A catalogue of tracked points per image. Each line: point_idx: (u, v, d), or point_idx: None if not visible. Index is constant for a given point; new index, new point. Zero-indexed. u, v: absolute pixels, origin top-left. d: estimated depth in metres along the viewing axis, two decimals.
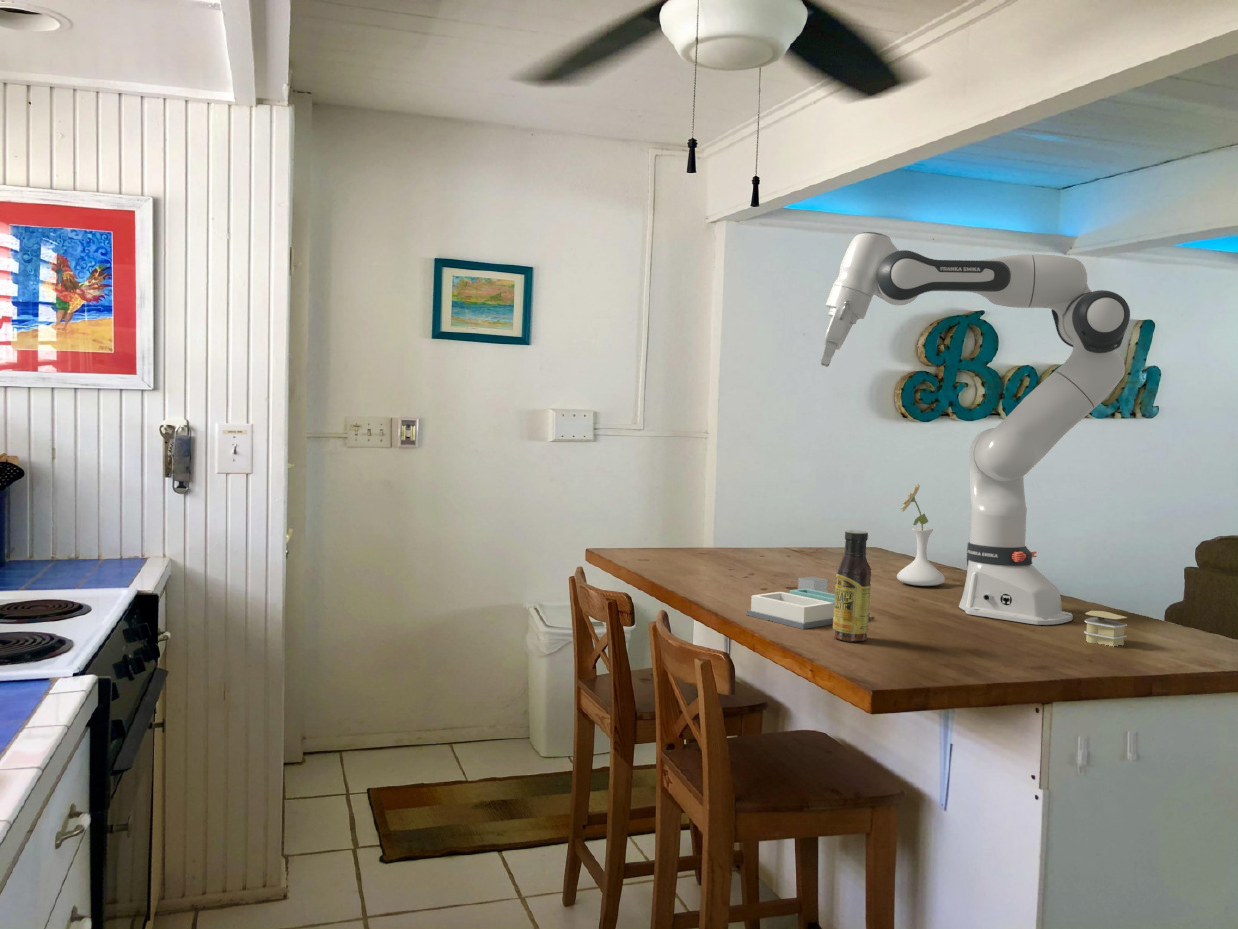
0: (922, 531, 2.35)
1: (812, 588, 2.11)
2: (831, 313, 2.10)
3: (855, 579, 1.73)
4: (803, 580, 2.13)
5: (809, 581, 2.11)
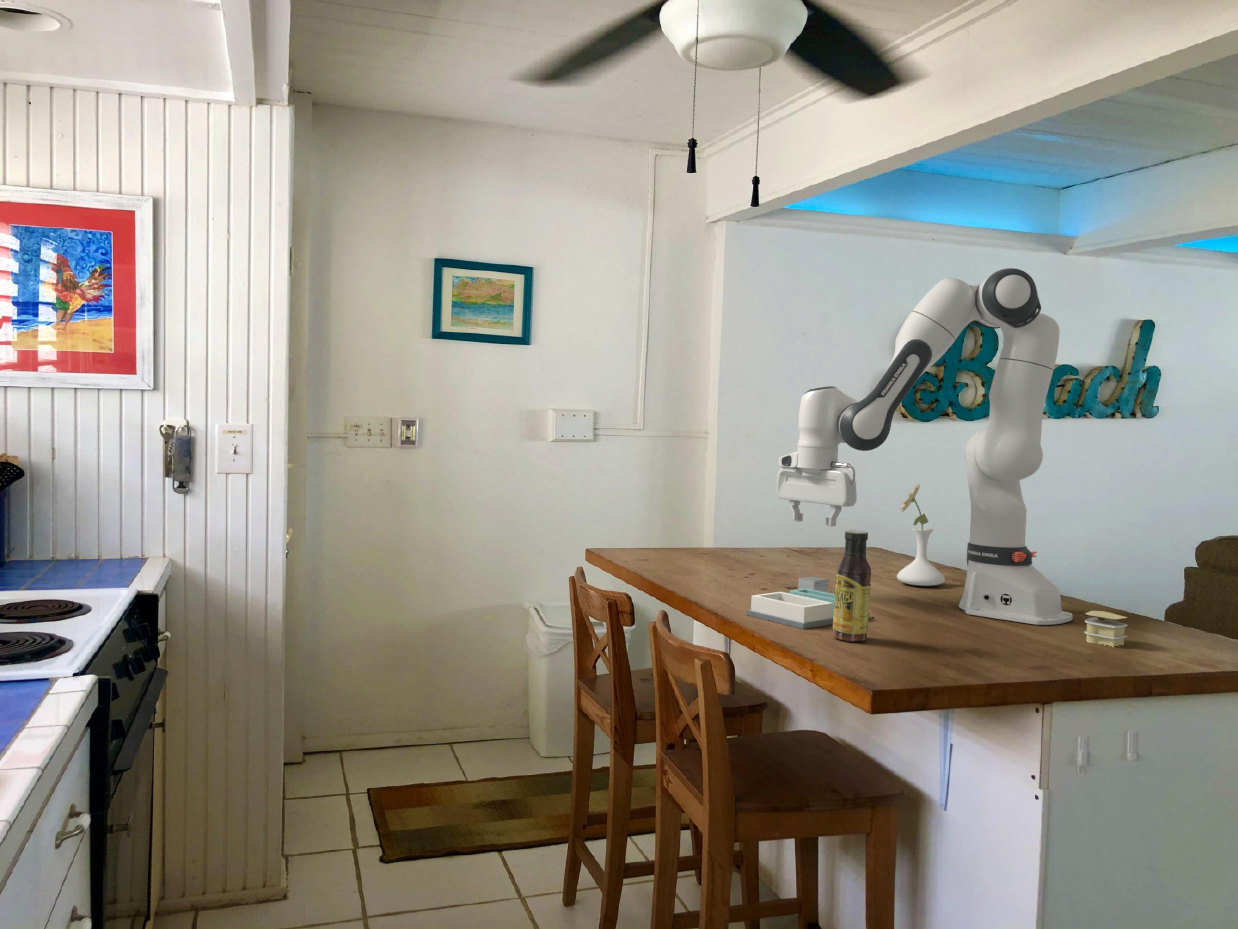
0: (922, 531, 2.35)
1: (812, 588, 2.11)
2: (815, 475, 2.09)
3: (855, 579, 1.73)
4: (803, 580, 2.13)
5: (809, 581, 2.11)
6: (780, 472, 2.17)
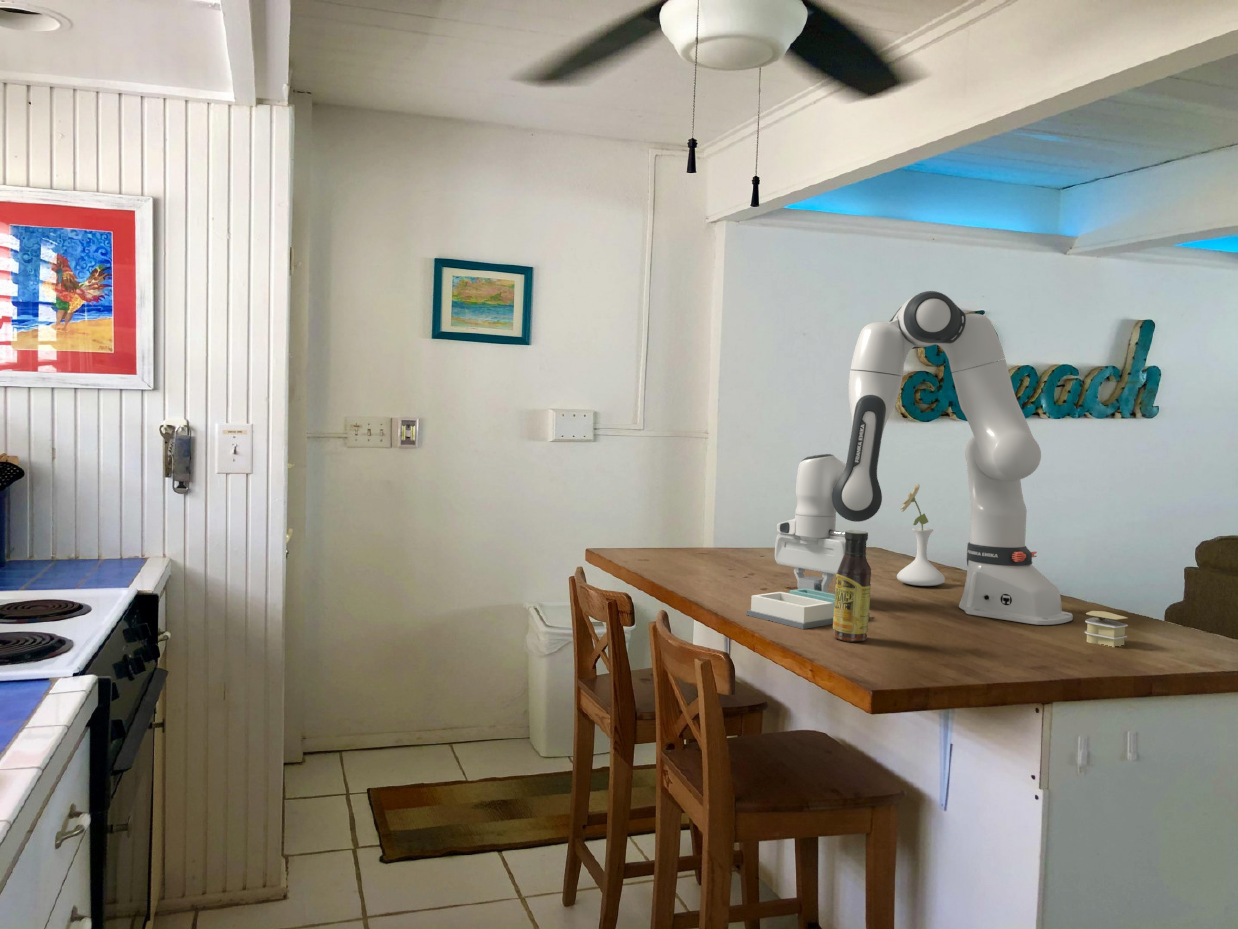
0: (922, 531, 2.35)
1: (812, 588, 2.11)
2: (813, 543, 2.10)
3: (855, 579, 1.73)
4: (803, 580, 2.13)
5: (809, 581, 2.11)
6: (778, 538, 2.18)
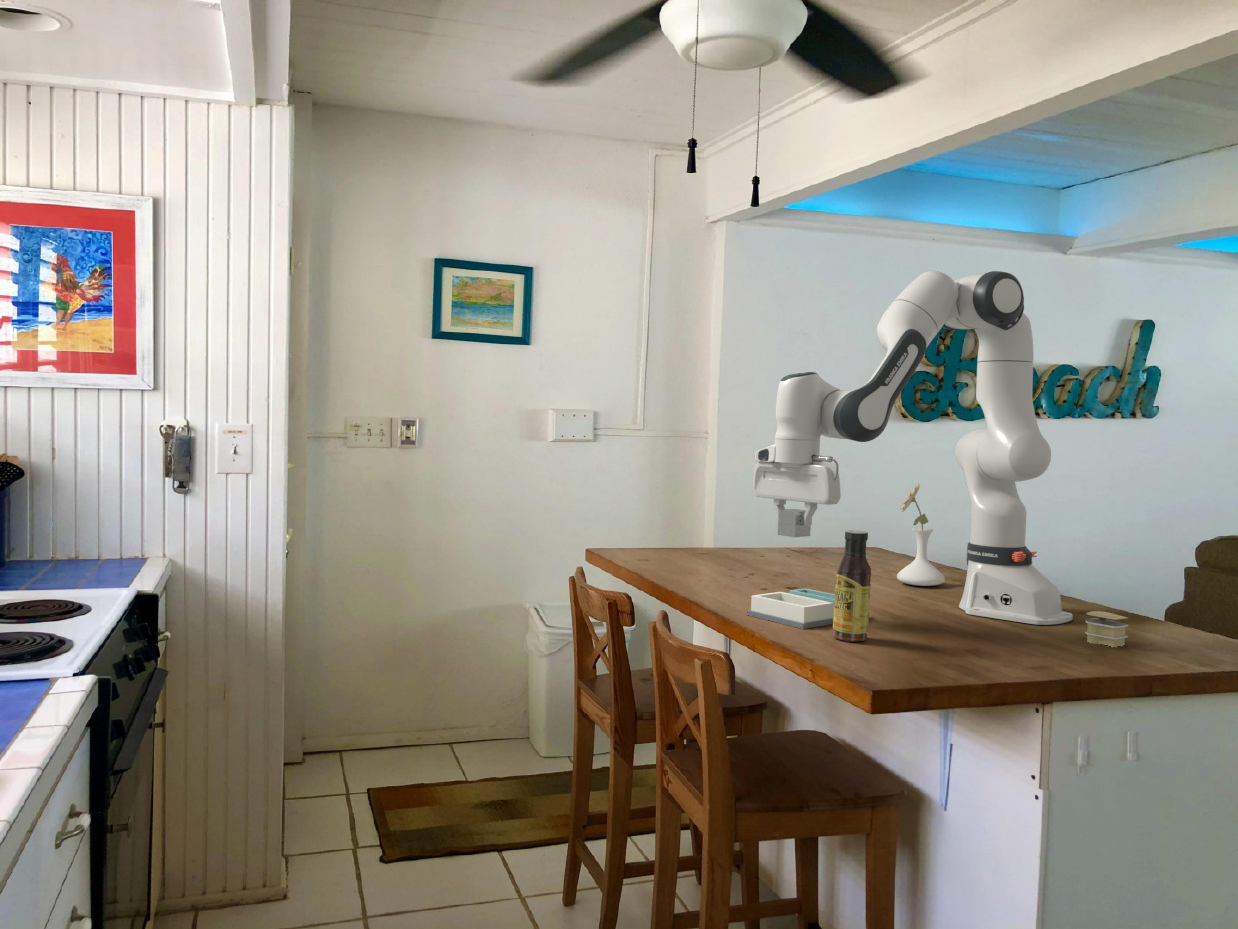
0: (922, 531, 2.35)
1: (793, 520, 1.89)
2: (795, 470, 1.89)
3: (855, 579, 1.73)
4: (784, 512, 1.92)
5: (790, 512, 1.90)
6: (757, 467, 1.97)
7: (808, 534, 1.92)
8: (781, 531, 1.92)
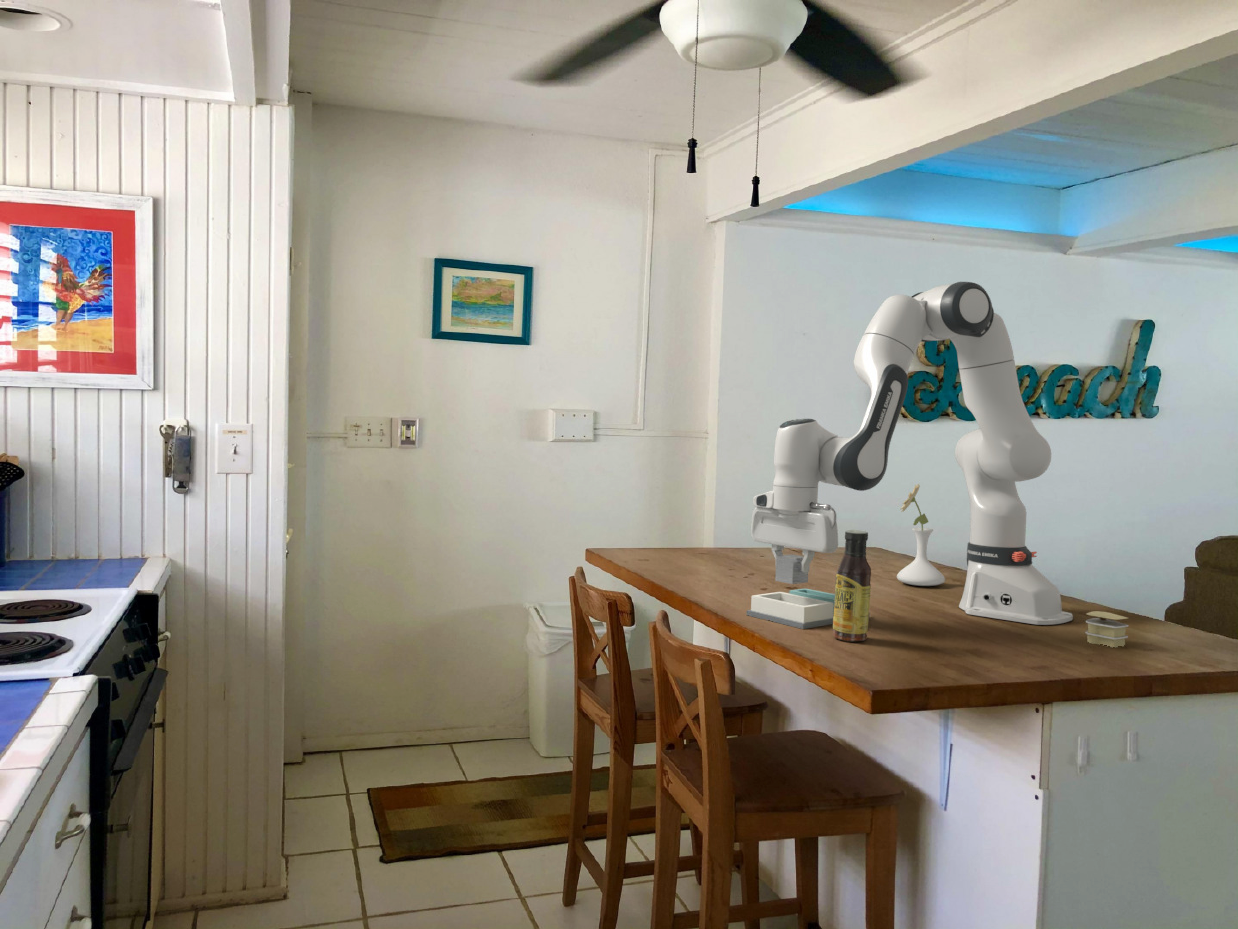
0: (922, 531, 2.35)
1: (791, 566, 1.90)
2: (793, 517, 1.89)
3: (855, 579, 1.73)
4: (781, 558, 1.92)
5: (788, 559, 1.91)
6: (755, 512, 1.97)
7: (805, 580, 1.92)
8: (779, 577, 1.92)
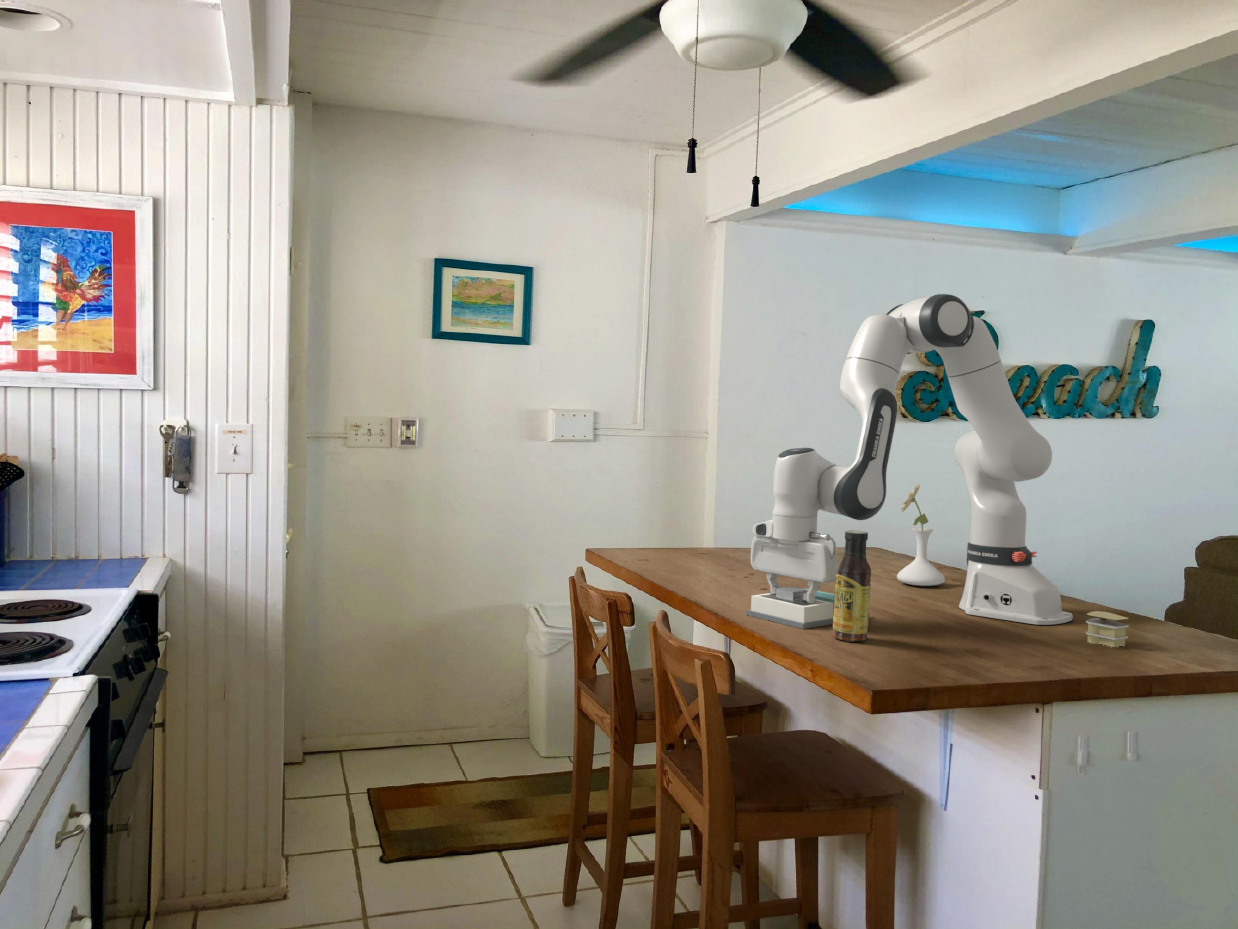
0: (922, 531, 2.35)
1: (791, 600, 1.90)
2: (792, 547, 1.90)
3: (855, 579, 1.73)
4: (781, 591, 1.92)
5: (788, 592, 1.91)
6: (754, 541, 1.98)
7: None
8: None
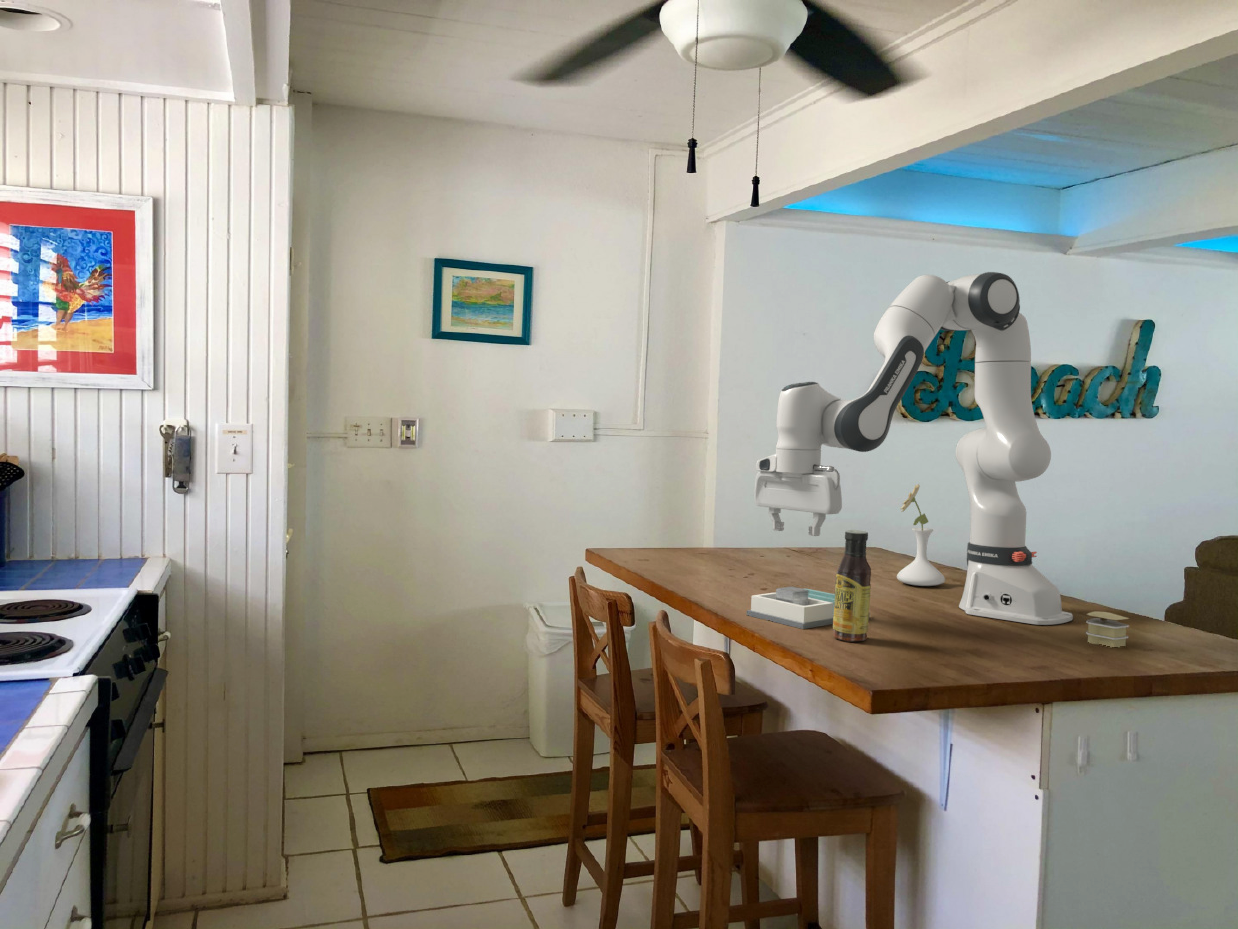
0: (922, 531, 2.35)
1: (791, 600, 1.90)
2: (796, 480, 1.90)
3: (855, 579, 1.73)
4: (781, 591, 1.92)
5: (788, 592, 1.91)
6: (758, 477, 1.97)
7: None
8: None
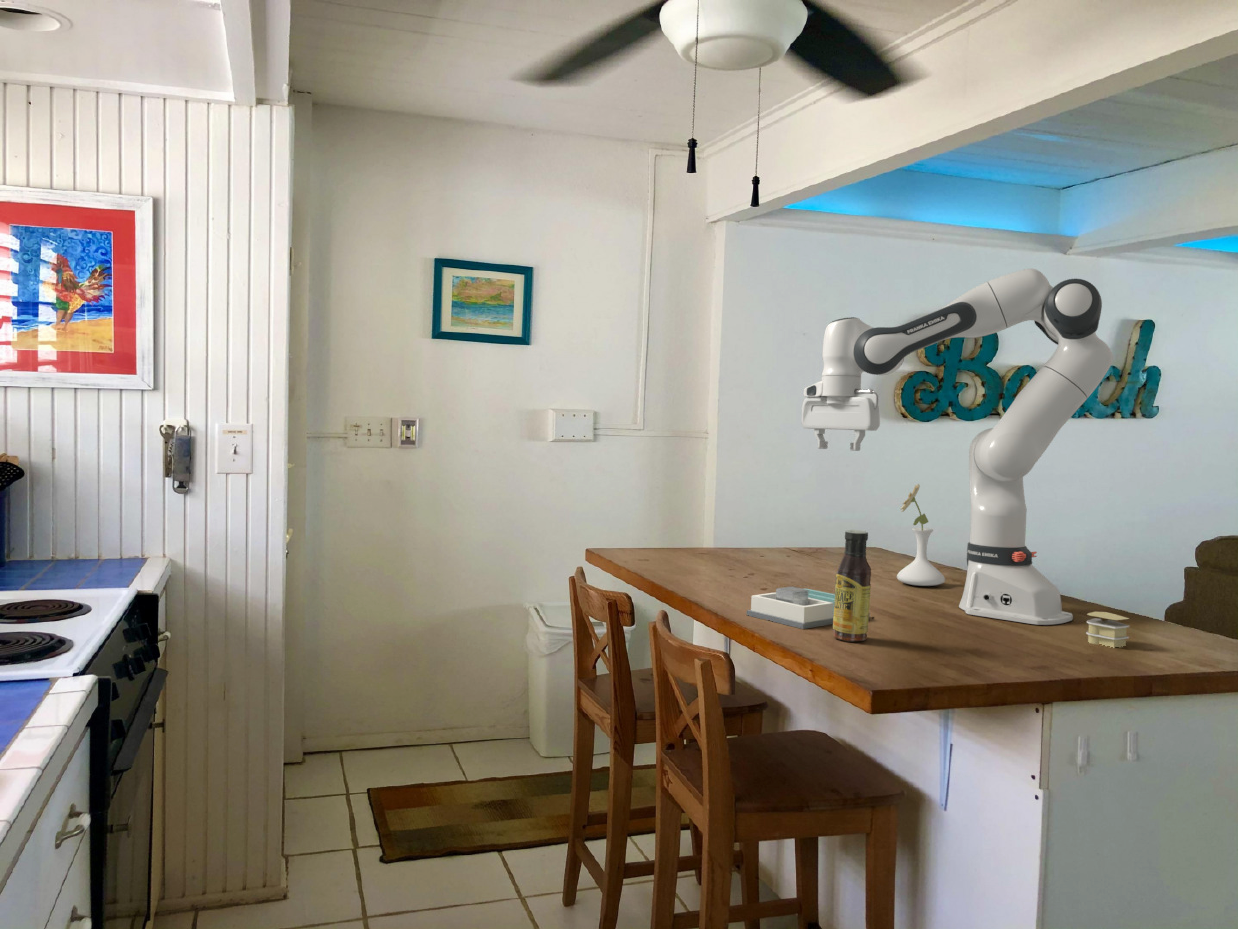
0: (922, 531, 2.35)
1: (791, 600, 1.90)
2: (840, 402, 2.19)
3: (855, 579, 1.73)
4: (781, 591, 1.92)
5: (788, 592, 1.91)
6: (805, 402, 2.27)
7: None
8: None
